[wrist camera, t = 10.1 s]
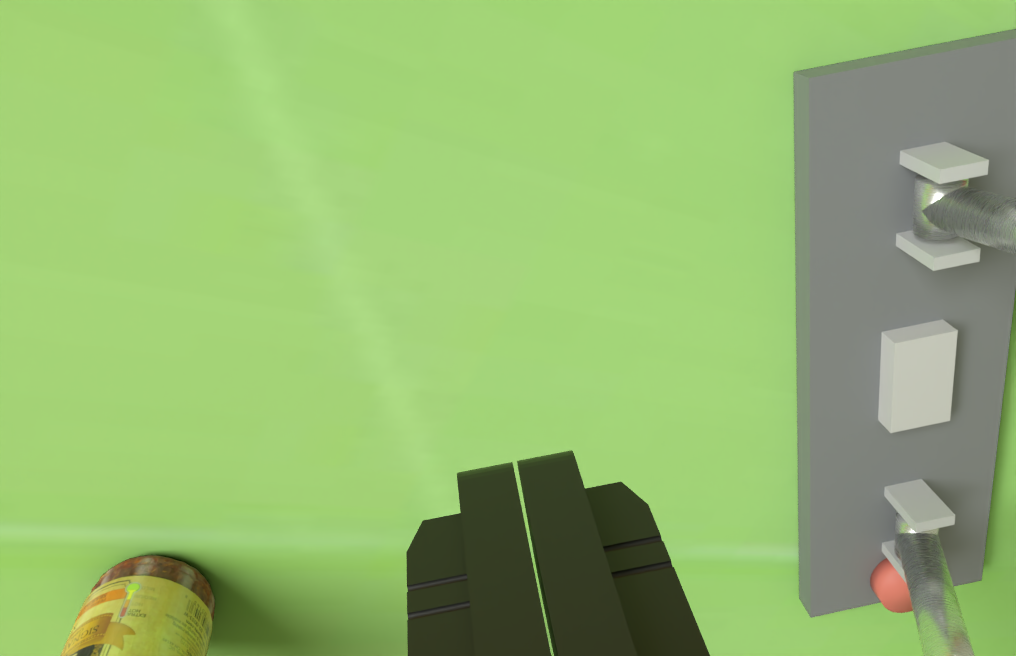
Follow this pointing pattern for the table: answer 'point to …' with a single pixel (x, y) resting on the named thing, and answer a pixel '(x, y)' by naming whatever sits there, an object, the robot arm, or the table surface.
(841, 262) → the switch panel
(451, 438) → the table surface
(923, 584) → the silver metal rod
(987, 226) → the metal lever
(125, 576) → the sauce bottle
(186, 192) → the table surface
